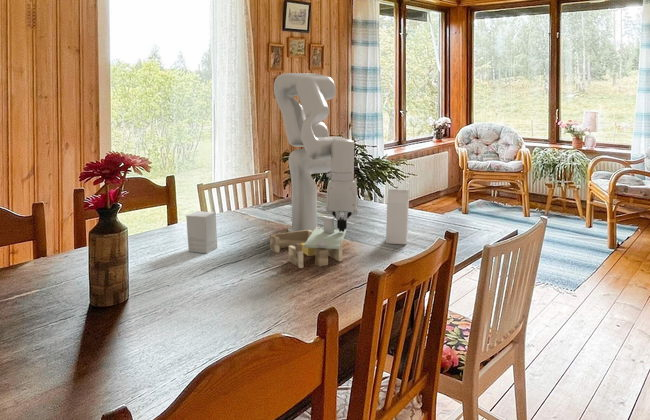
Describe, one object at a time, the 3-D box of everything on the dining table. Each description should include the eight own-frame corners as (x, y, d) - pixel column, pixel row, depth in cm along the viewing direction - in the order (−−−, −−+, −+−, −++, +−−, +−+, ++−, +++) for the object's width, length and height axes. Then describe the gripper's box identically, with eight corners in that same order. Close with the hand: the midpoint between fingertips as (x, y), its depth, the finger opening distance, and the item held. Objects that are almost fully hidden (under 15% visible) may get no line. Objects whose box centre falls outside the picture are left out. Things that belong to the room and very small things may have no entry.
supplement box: (218, 247, 190) (216, 212, 187) (206, 253, 183) (205, 216, 180) (199, 245, 192) (197, 210, 189) (187, 251, 185) (185, 215, 182)
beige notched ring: (270, 248, 188) (269, 228, 187) (309, 242, 195) (309, 223, 194) (302, 269, 167) (301, 247, 166) (344, 262, 174) (344, 240, 173)
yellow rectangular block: (300, 251, 186) (300, 243, 185) (309, 250, 187) (309, 242, 187) (308, 256, 181) (308, 247, 180) (317, 255, 182) (317, 246, 182)
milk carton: (406, 244, 193) (408, 191, 189) (385, 243, 195) (387, 190, 191) (407, 239, 200) (409, 188, 196) (387, 238, 202) (389, 187, 197)
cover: (314, 230, 191) (314, 214, 190) (346, 232, 189) (346, 215, 188) (303, 248, 171) (303, 230, 169) (338, 250, 169) (338, 231, 168)
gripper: (318, 178, 179) (318, 232, 183) (364, 179, 177) (363, 234, 181) (321, 174, 186) (321, 227, 190) (366, 175, 184) (365, 228, 188)
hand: (341, 230), depth 185 cm, fingers closed
